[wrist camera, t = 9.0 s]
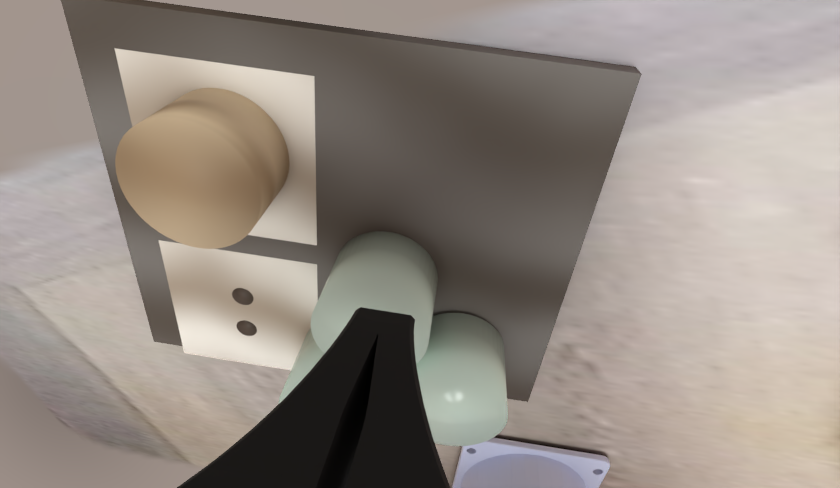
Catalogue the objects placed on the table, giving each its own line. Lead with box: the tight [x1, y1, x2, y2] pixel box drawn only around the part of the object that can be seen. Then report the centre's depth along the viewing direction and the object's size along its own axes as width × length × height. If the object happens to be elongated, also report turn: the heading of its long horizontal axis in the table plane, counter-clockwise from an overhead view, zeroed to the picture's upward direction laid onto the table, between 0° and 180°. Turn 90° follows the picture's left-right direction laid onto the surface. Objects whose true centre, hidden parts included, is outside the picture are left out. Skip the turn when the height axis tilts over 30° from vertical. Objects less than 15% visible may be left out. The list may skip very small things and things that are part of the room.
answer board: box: [61, 0, 641, 402], centre depth 21 cm, size 16×19×1 cm
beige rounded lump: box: [115, 88, 289, 249], centre depth 18 cm, size 5×5×3 cm
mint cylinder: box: [310, 231, 438, 364], centre depth 20 cm, size 4×4×4 cm
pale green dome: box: [416, 313, 508, 446], centre depth 22 cm, size 4×4×4 cm
